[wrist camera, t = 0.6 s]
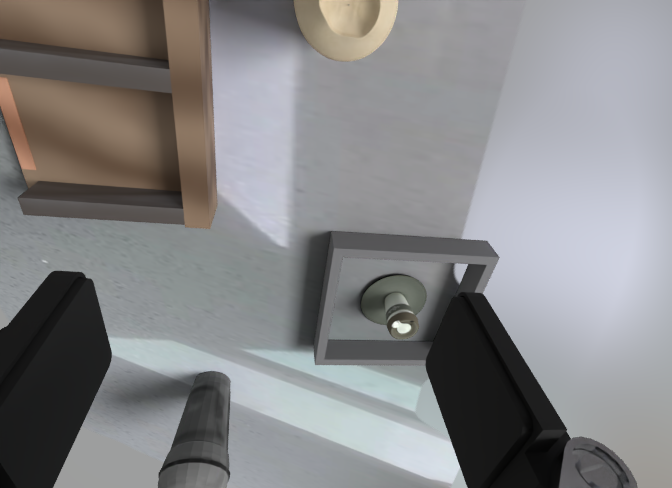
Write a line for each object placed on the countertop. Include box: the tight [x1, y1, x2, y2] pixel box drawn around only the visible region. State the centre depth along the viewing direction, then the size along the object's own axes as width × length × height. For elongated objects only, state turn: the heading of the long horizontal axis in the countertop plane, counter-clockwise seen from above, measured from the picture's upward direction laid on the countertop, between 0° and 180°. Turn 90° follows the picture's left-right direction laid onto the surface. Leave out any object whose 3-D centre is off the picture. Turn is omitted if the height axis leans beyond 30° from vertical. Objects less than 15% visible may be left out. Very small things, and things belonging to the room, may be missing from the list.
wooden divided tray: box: [0, 0, 217, 229], centre depth 26 cm, size 23×15×4 cm, turn 172°
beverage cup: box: [158, 371, 230, 488], centre depth 42 cm, size 7×7×20 cm
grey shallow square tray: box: [314, 231, 499, 365], centre depth 43 cm, size 17×17×3 cm
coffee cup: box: [361, 275, 427, 339], centre depth 42 cm, size 12×12×5 cm
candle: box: [293, 0, 398, 61], centre depth 23 cm, size 6×6×10 cm
